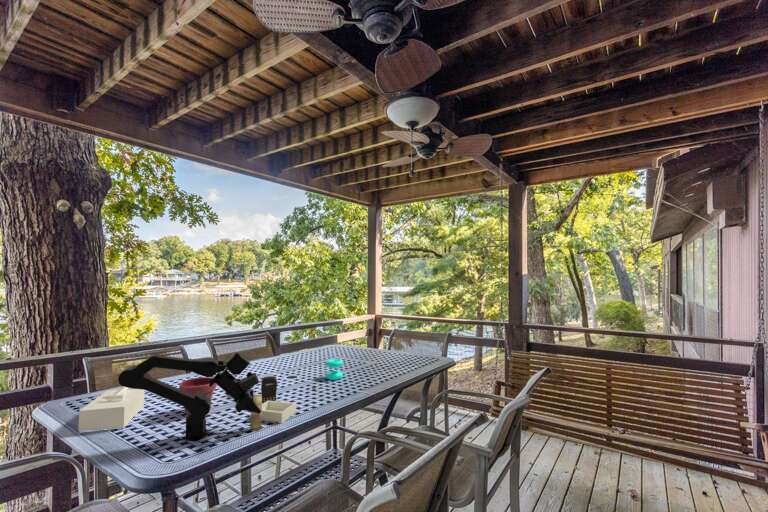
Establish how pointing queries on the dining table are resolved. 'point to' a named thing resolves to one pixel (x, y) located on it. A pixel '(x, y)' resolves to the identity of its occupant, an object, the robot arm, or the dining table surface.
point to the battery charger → (268, 388)
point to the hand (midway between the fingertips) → (260, 410)
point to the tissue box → (111, 409)
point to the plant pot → (197, 387)
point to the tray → (277, 411)
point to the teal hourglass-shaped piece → (334, 374)
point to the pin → (256, 414)
